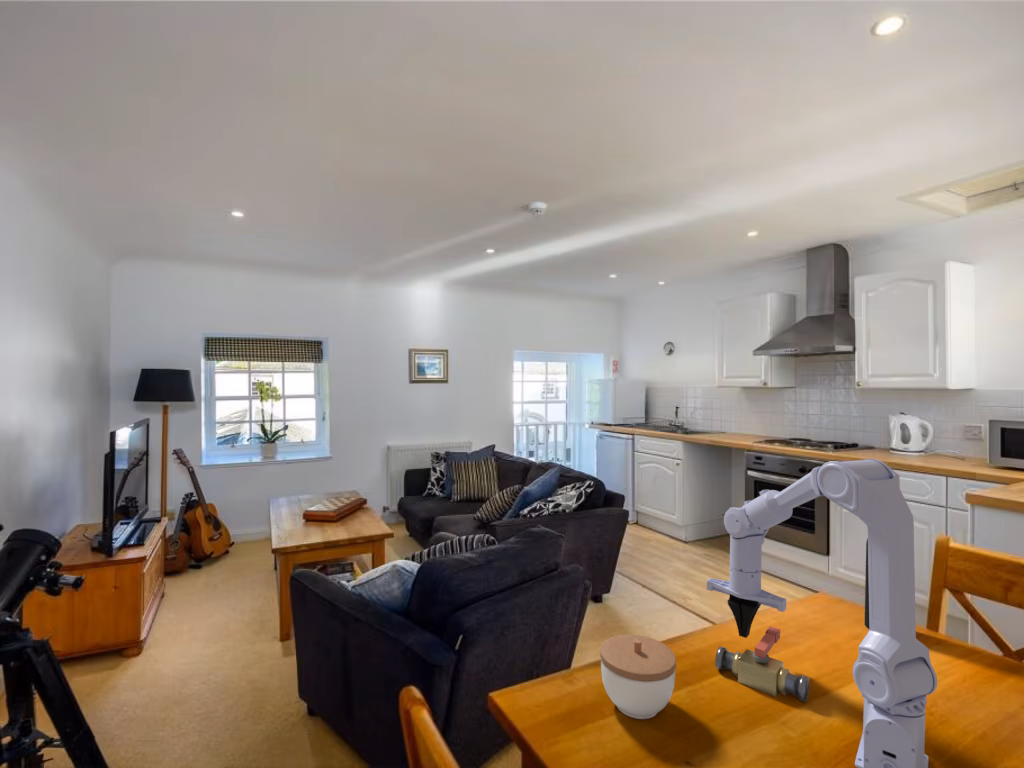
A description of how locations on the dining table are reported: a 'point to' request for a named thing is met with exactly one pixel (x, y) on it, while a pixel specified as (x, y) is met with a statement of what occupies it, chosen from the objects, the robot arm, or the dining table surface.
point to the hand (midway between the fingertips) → (744, 635)
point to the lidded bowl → (637, 674)
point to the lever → (766, 645)
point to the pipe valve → (762, 674)
